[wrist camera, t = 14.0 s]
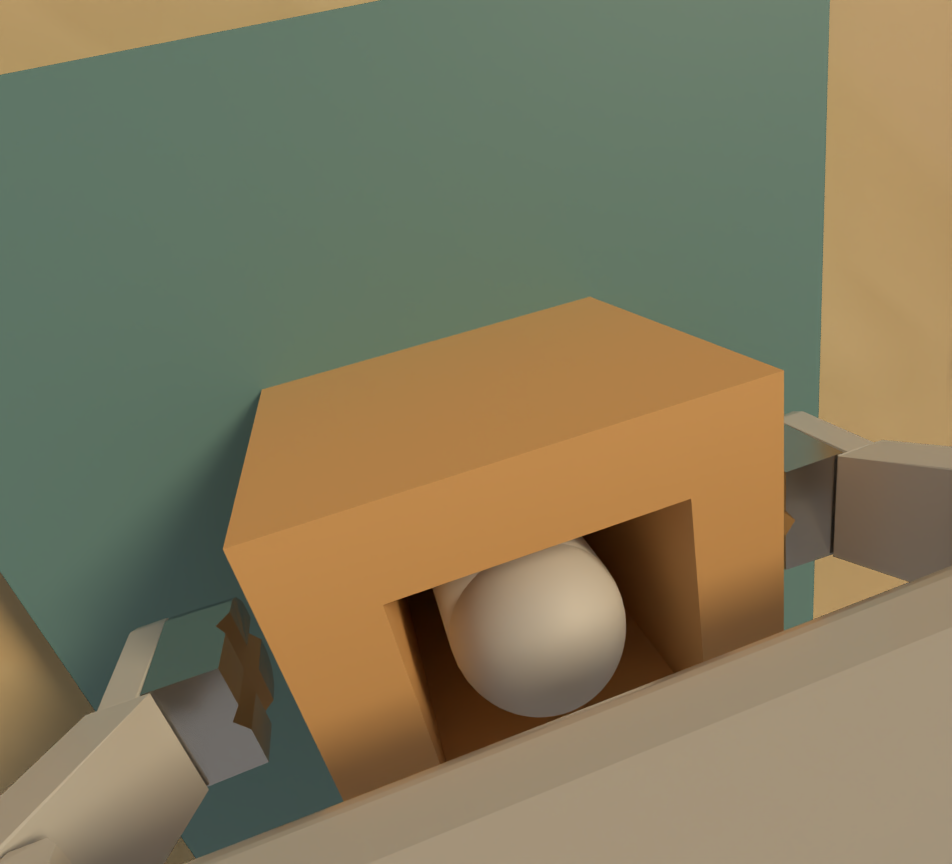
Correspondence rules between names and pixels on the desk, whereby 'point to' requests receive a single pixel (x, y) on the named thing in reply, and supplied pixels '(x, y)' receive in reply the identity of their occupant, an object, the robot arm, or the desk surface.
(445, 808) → the robot arm
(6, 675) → the desk surface
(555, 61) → the hub plate
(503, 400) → the collar
